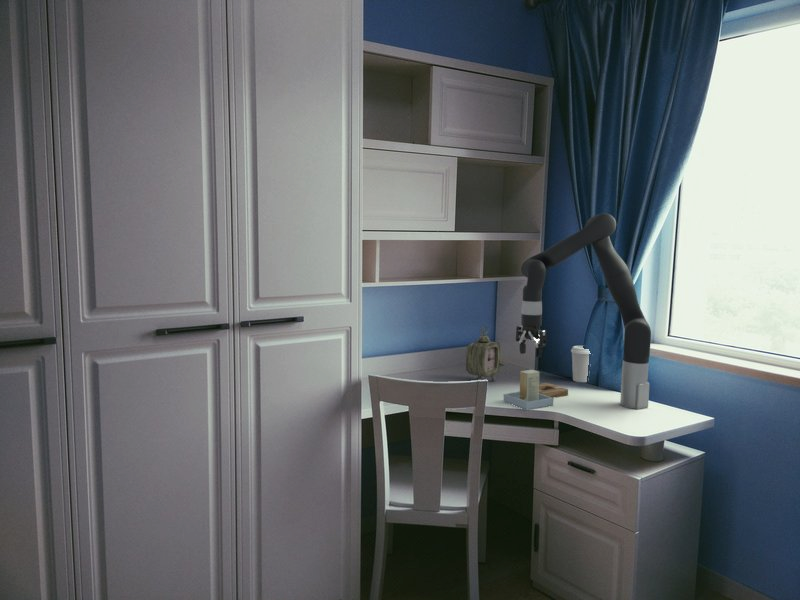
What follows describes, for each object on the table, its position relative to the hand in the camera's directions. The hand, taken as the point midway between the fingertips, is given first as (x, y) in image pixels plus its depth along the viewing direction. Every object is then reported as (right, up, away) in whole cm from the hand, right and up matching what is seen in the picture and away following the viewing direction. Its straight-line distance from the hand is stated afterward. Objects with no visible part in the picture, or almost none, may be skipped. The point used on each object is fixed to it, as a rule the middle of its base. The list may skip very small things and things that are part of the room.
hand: (530, 355), depth 235 cm
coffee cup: (+31, -15, +42) cm, 54 cm away
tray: (0, -19, +2) cm, 19 cm away
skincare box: (0, -18, +2) cm, 19 cm away
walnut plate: (+9, -17, +17) cm, 26 cm away
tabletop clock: (-14, -15, +35) cm, 40 cm away
